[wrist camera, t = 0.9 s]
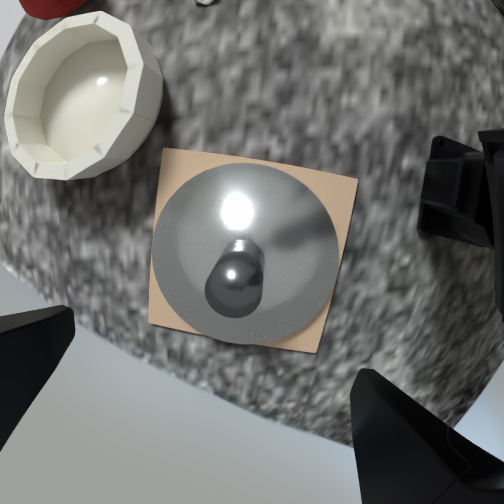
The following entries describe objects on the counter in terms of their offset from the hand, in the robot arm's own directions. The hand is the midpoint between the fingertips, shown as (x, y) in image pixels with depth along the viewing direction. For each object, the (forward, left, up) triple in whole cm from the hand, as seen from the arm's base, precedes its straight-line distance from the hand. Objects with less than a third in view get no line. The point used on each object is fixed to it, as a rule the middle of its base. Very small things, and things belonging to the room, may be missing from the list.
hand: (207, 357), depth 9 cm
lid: (0, 0, -11) cm, 11 cm away
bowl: (+12, -9, -12) cm, 19 cm away
